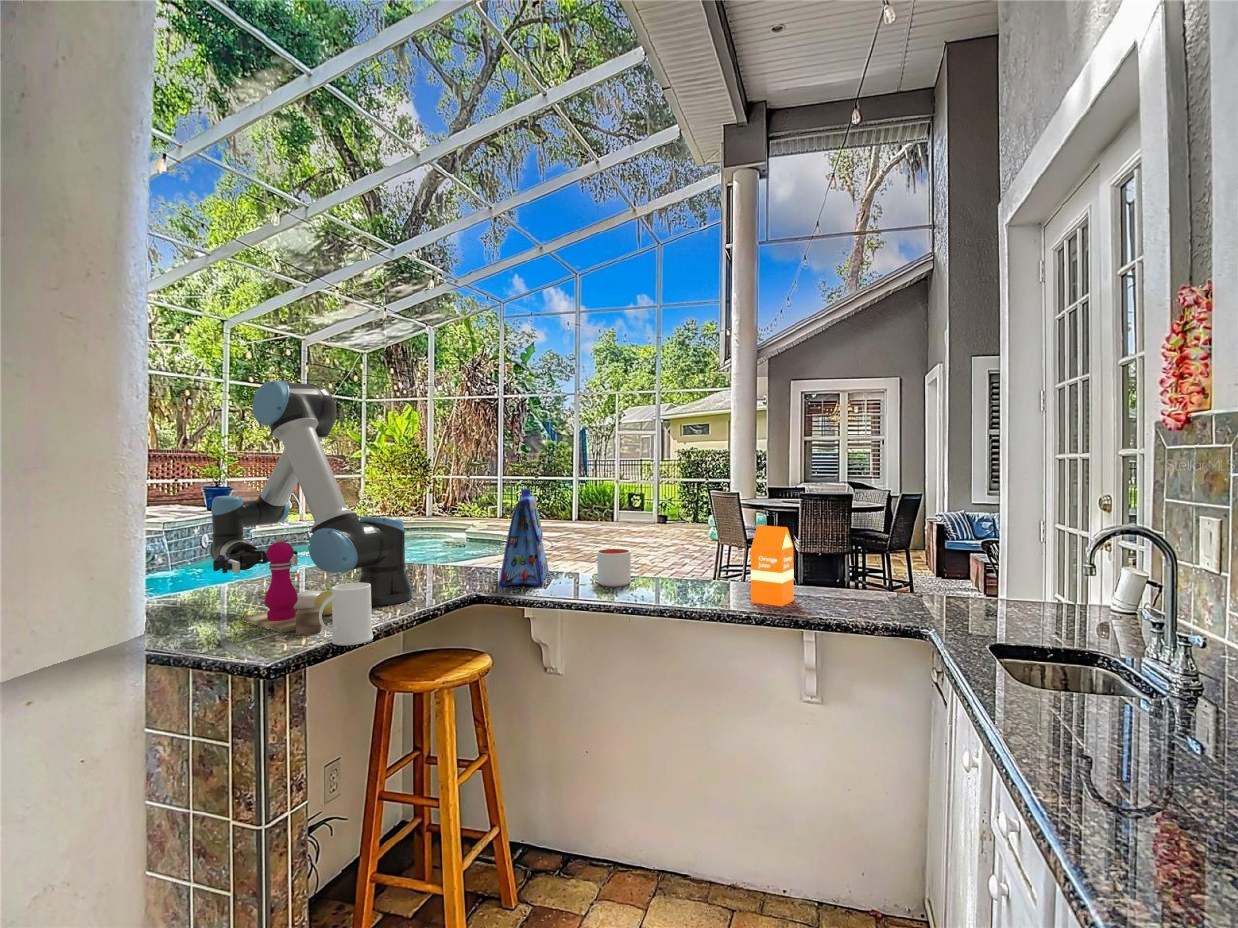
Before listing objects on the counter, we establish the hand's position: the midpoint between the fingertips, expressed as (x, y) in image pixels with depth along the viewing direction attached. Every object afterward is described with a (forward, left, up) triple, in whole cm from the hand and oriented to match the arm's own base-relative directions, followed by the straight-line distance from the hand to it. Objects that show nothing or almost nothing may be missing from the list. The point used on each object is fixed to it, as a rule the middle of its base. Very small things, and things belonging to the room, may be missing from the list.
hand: (268, 564), depth 172 cm
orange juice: (-129, -8, -14) cm, 130 cm away
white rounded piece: (-5, -11, -14) cm, 18 cm away
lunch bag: (-59, -42, -14) cm, 74 cm away
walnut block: (-16, +14, -13) cm, 25 cm away
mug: (-28, +23, -14) cm, 39 cm away
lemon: (-14, -1, -13) cm, 19 cm away
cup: (-87, -33, -14) cm, 94 cm away
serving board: (-6, +6, -13) cm, 16 cm away
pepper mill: (-6, +6, -12) cm, 15 cm away
